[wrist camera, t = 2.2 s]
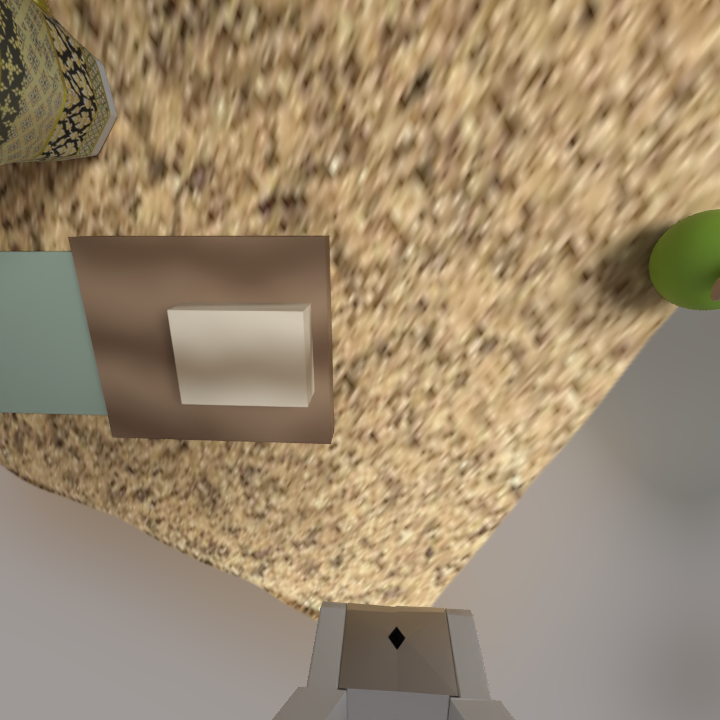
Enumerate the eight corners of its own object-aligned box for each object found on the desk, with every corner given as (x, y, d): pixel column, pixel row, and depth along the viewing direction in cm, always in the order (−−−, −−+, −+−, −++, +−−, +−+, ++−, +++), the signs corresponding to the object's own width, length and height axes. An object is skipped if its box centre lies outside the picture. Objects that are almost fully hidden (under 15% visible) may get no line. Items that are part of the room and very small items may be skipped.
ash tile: (187, 302, 26) (167, 310, 24) (310, 303, 26) (303, 311, 23) (199, 388, 28) (181, 404, 26) (314, 391, 28) (307, 407, 25)
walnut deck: (90, 235, 27) (68, 237, 25) (329, 235, 26) (324, 236, 24) (129, 424, 32) (112, 437, 30) (334, 430, 31) (330, 444, 29)
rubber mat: (-73, 251, 28) (-81, 251, 28) (93, 251, 28) (88, 252, 27) (-21, 408, 32) (-27, 411, 32) (126, 412, 31) (122, 415, 31)
